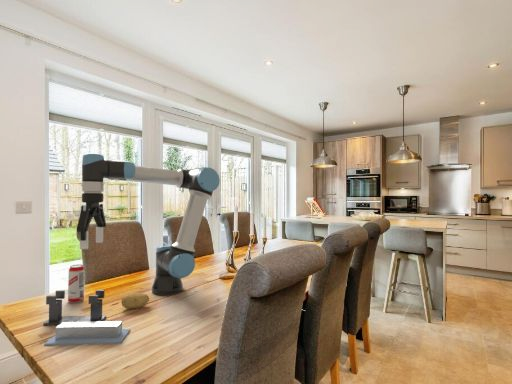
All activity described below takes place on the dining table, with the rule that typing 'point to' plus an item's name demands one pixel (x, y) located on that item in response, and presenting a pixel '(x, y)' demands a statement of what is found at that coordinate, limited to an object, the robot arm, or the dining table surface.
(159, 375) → the dining table surface
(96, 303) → the standards
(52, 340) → the mat
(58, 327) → the rail
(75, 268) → the beer can
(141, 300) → the potato
